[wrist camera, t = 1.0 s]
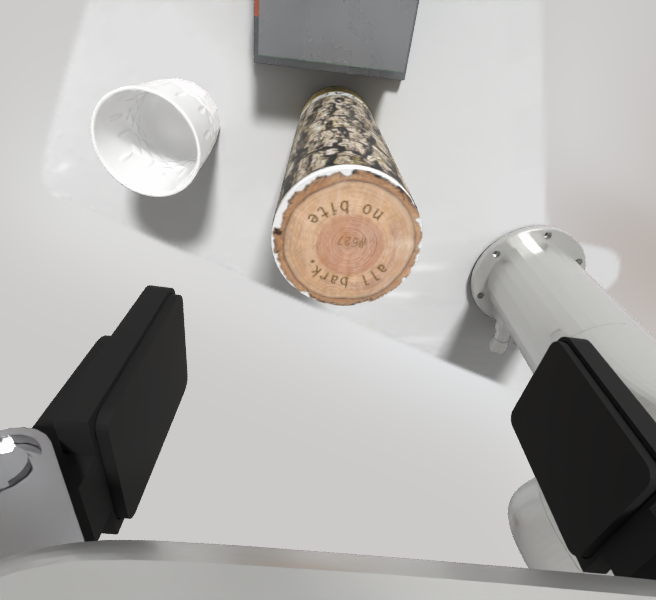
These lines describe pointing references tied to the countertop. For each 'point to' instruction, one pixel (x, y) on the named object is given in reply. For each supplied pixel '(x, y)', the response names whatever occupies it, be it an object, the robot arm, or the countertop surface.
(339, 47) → the stand
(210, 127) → the white cup
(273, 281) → the countertop surface
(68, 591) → the robot arm
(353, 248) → the paper tube
